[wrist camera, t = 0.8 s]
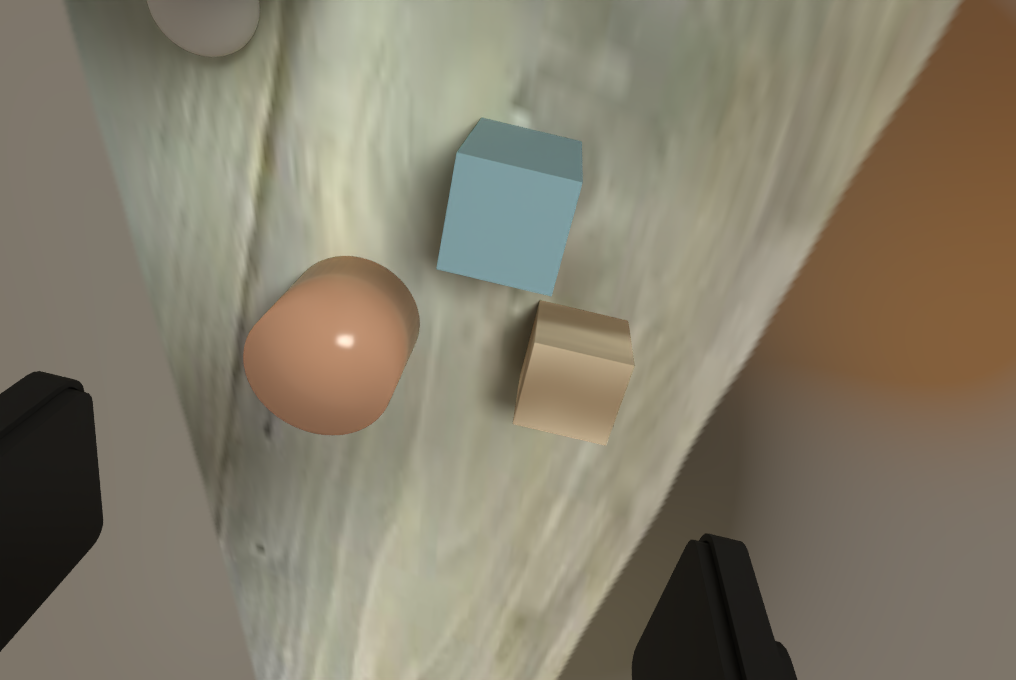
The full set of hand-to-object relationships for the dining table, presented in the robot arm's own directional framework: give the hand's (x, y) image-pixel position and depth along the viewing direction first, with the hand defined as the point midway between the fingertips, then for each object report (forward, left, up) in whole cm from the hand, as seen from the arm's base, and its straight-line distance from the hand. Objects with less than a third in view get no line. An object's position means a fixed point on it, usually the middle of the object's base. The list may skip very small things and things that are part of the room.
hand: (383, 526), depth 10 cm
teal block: (-1, 0, -19) cm, 19 cm away
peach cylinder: (+7, -6, -19) cm, 21 cm away
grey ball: (-5, -12, -19) cm, 23 cm away
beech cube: (+6, +4, -19) cm, 21 cm away
